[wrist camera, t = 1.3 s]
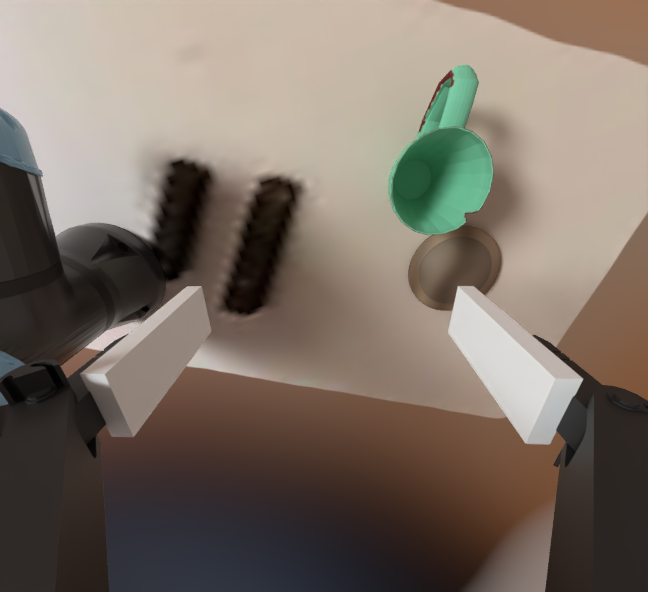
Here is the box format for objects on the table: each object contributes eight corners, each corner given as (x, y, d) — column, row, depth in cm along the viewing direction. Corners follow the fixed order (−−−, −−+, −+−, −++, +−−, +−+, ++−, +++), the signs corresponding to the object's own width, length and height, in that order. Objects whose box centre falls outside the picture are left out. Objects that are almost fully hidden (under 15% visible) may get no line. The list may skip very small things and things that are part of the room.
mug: (438, 222, 38) (473, 239, 29) (368, 214, 37) (381, 230, 28) (473, 93, 31) (533, 64, 22) (390, 83, 31) (416, 49, 22)
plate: (404, 309, 44) (406, 312, 43) (413, 227, 38) (415, 228, 37) (486, 307, 43) (489, 309, 42) (507, 224, 38) (511, 225, 37)
